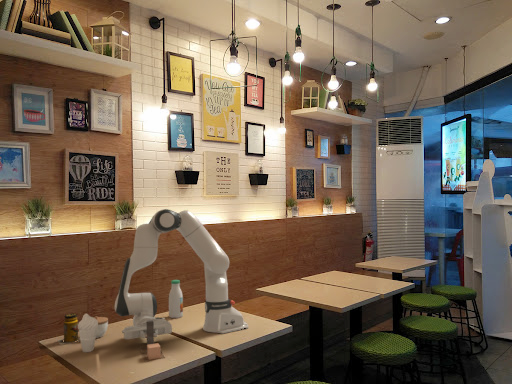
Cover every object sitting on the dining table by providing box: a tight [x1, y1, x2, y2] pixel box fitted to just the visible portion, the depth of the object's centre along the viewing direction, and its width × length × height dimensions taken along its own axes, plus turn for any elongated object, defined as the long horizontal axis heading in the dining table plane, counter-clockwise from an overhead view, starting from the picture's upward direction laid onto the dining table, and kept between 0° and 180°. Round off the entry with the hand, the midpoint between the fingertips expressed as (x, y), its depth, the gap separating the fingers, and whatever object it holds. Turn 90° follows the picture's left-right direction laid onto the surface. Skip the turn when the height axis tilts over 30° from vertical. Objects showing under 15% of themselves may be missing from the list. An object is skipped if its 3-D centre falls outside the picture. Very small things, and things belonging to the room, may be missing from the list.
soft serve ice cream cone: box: [78, 313, 98, 353], centre depth 181 cm, size 8×8×16 cm
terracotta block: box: [146, 343, 161, 361], centre depth 168 cm, size 4×4×4 cm
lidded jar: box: [94, 315, 109, 339], centre depth 201 cm, size 11×11×9 cm
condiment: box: [57, 313, 81, 346], centre depth 195 cm, size 7×8×12 cm
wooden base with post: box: [138, 320, 166, 362], centre depth 173 cm, size 17×8×13 cm, turn 23°
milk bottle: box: [168, 279, 184, 319], centre depth 234 cm, size 8×8×20 cm
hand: (150, 335), depth 176 cm, fingers closed on wooden base with post, 2 cm apart
